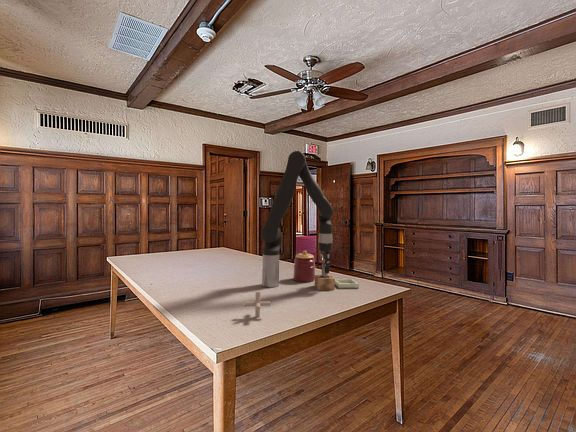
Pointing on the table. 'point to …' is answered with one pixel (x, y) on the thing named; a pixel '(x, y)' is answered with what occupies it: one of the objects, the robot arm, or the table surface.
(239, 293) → the table surface
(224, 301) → the table surface
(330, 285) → the block
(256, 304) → the pipe connector
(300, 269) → the canister
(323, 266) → the steel pin
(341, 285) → the tray
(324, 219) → the robot arm
